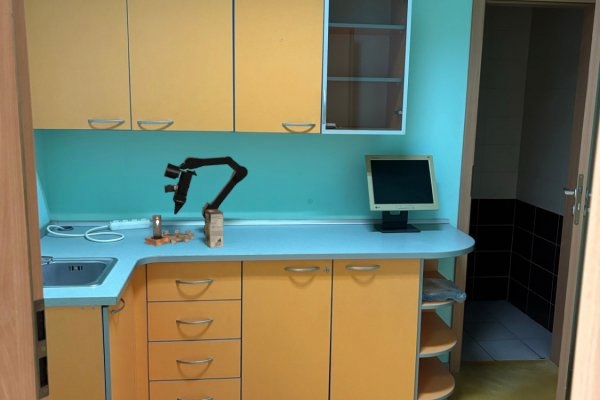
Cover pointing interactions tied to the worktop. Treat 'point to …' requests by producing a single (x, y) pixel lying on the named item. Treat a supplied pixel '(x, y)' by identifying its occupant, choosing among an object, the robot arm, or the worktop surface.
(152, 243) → the sprocket
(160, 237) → the pin
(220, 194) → the robot arm
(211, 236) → the coffee box
